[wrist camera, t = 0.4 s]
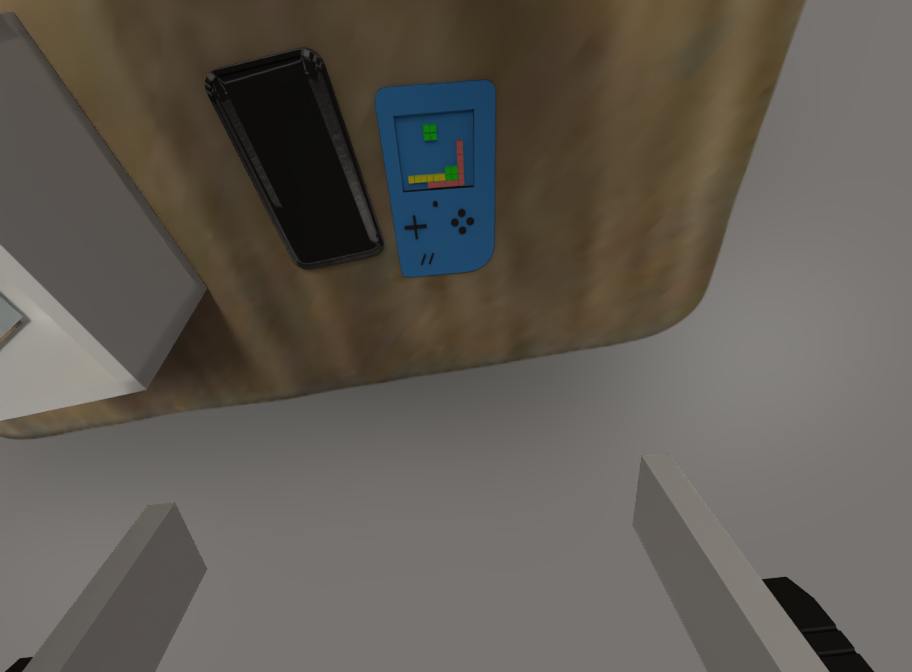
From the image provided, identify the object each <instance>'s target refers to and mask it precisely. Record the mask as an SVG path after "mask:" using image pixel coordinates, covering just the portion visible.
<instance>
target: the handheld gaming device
mask: <svg viewBox="0 0 912 672" xmlns="http://www.w3.org/2000/svg"><path fill="white" fill-rule="evenodd" d="M375 106H376V112H377V119H378V125H379V132H380V138H381V144H382V151H383V157H384V164H385V170H386V176H387V183H388V189H389V196H390V202H391V209H392V215H393V221H394V228H395V234H396V241H397V247H398V254H399V260H400V266H401V272H402V275H403V276H405V277H417V276H428V275H440V274H451V273H462V272H471V271H474V270H477V269H479V268H481V267H482V266H484V265H485V264H486V263H487V262H488V261H489V259H490V258H491V256H492V254H493V251H494V232H495V108H496V91H495V87H494V85H493V84H492V83H491V82H490V81H488V80H472V81H459V82H446V83H433V84H420V85H407V86H394V87H384V88H381V89H380V90H379V91H378V92H377V94H376V97H375Z"/></svg>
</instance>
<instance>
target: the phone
mask: <svg viewBox="0 0 912 672" xmlns="http://www.w3.org/2000/svg"><path fill="white" fill-rule="evenodd" d="M205 89H206V91H207V94H208V96H209V98H210V100H211V102H212V104H213V106H214V108H215V110H216V112H217V114H218V116H219V118H220V120H221V122H222V124H223V126H224V128H225V130H226V132H227V134H228V135H229V137H230V139H231V141H232V143H233V145H234V147H235V149H236V151H237V153H238V155H239V157H240V159H241V161H242V163H243V165H244V167H245V169H246V171H247V173H248V175H249V177H250V179H251V181H252V183H253V185H254V186H255V188H256V190H257V192H258V194H259V196H260V198H261V200H262V202H263V204H264V206H265V208H266V210H267V212H268V214H269V216H270V218H271V220H272V222H273V224H274V226H275V228H276V230H277V232H278V234H279V236H280V237H281V239H282V241H283V243H284V245H285V247H286V249H287V251H288V253H289V255H290V257H291V259H292V261H293V262H294V264H295V265H297V266H298V267H300V268H302V269H314V268H318V267H323V266H327V265H332V264H337V263H341V262H346V261H350V260H355V259H360V258H364V257H369V256H373V255H376V254H378V253H379V252H380V251H381V249H382V246H383V236H382V233H381V230H380V227H379V224H378V221H377V218H376V215H375V212H374V210H373V207H372V204H371V201H370V198H369V195H368V192H367V189H366V186H365V183H364V180H363V177H362V174H361V171H360V168H359V165H358V162H357V159H356V156H355V153H354V150H353V147H352V144H351V141H350V138H349V135H348V132H347V129H346V126H345V123H344V120H343V117H342V114H341V112H340V109H339V106H338V103H337V100H336V97H335V94H334V91H333V88H332V85H331V82H330V79H329V76H328V73H327V70H326V67H325V64H324V62H323V60H322V58H321V57H320V56H319V55H318V53H316V52H315V51H313V50H312V49H309V48H297V49H293V50H289V51H285V52H281V53H277V54H273V55H269V56H265V57H261V58H257V59H253V60H249V61H245V62H241V63H237V64H232V65H228V66H224V67H220V68H217V69H215V70H213V71H212V72H210V73H209V74H208V75H207V77H206V80H205Z"/></svg>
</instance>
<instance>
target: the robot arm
mask: <svg viewBox="0 0 912 672" xmlns="http://www.w3.org/2000/svg"><path fill="white" fill-rule="evenodd" d="M633 527H634V529H635V531H636V533H637V535H638V537H639V539H640V541H641V543H642V545H643V546H644V548H645V550H646V552H647V554H648V556H649V558H650V560H651V562H652V564H653V566H654V568H655V570H656V572H657V574H658V576H659V578H660V580H661V582H662V584H663V586H664V588H665V590H666V592H667V594H668V595H669V597H670V599H671V601H672V603H673V605H674V607H675V609H676V611H677V613H678V615H679V617H680V619H681V621H682V623H683V625H684V627H685V629H686V631H687V633H688V635H689V637H690V639H691V640H692V642H693V644H694V646H695V648H696V650H697V652H698V654H699V656H700V658H701V660H702V662H703V664H704V666H705V668H706V670H707V672H874V671H873V670H872V669H871V667H870V666H869V665H868V664H867V663H866V661H865V660H864V659H863V658H862V656H861V655H860V654H857V653H856V651H855V649H854V647H853V645H852V644H851V643H850V642H849V640H848V639H847V638H846V637H845V636H844V634H843V633H842V632H841V631H839V630H838V629H837V628H836V625H835V623H834V622H833V621H832V620H831V618H830V617H829V616H828V615H827V614H826V612H825V611H824V610H823V609H822V607H821V606H820V605H819V604H818V603H817V601H816V600H815V599H814V598H813V597H812V596H810V595H809V594H808V593H807V592H805V591H804V590H803V589H801V588H800V587H799V586H798V585H796V584H795V583H794V582H792V581H791V580H790V579H789V578H787V577H779V578H769V579H761V578H760V577H759V575H758V574H757V573H756V571H755V570H754V569H753V567H752V566H751V565H750V563H749V562H748V561H747V559H746V558H745V556H744V555H743V554H742V552H741V551H740V550H739V548H738V547H737V546H736V544H735V543H734V541H733V540H732V539H731V537H730V536H729V535H728V533H727V532H726V531H725V529H724V528H723V526H722V525H721V524H720V522H719V521H718V520H717V518H716V517H715V516H714V514H713V513H712V512H711V510H710V509H709V507H708V506H707V505H706V503H705V502H704V501H703V499H702V498H701V497H700V495H699V494H698V492H697V491H696V490H695V488H694V487H693V486H692V485H691V483H690V482H689V480H688V479H687V478H686V476H685V475H684V473H683V472H682V471H681V469H680V468H679V467H678V465H677V464H676V463H675V461H674V460H673V458H672V457H671V456H670V454H669V453H662V454H651V455H642V456H641V463H640V472H639V479H638V487H637V495H636V502H635V510H634V518H633ZM206 570H207V567H206V565H205V563H204V561H203V559H202V557H201V555H200V553H199V551H198V549H197V547H196V545H195V543H194V541H193V539H192V537H191V534H190V532H189V530H188V528H187V526H186V524H185V522H184V520H183V518H182V516H181V514H180V512H179V510H178V508H177V506H176V503H166V504H156V505H147V507H146V508H145V510H144V511H143V512H142V513H141V515H140V516H139V517H138V519H137V520H136V521H135V523H134V524H133V525H132V527H131V528H130V529H129V531H128V532H127V533H126V535H125V536H124V537H123V538H122V540H121V541H120V542H119V544H118V545H117V547H116V548H115V549H114V550H113V552H112V553H111V554H110V556H109V557H108V558H107V560H106V561H105V562H104V564H103V565H102V566H101V568H100V569H99V570H98V572H97V573H96V574H95V576H94V577H93V578H92V580H91V581H90V582H89V584H88V585H87V586H86V588H85V589H84V590H83V592H82V593H81V594H80V596H79V597H78V598H77V600H76V601H75V602H74V604H73V605H72V606H71V608H70V609H69V610H68V612H67V613H66V614H65V616H64V617H63V618H62V620H61V621H60V622H59V624H58V625H57V626H56V628H55V629H54V630H53V632H52V633H51V634H50V635H49V637H48V638H47V639H46V641H45V642H44V644H43V645H42V646H41V648H40V649H39V650H38V652H37V653H36V654H35V656H34V657H29V658H20V659H19V660H17V662H15V663H14V664H13V665H12V666H11V667H10V668H9V669H8V670H6V671H5V672H155V671H156V669H157V667H158V665H159V663H160V661H161V659H162V657H163V655H164V653H165V651H166V649H167V647H168V645H169V643H170V641H171V639H172V637H173V635H174V633H175V632H176V629H177V628H178V626H179V624H180V622H181V620H182V618H183V616H184V614H185V612H186V610H187V608H188V606H189V604H190V602H191V600H192V598H193V596H194V594H195V592H196V590H197V588H198V586H199V584H200V582H201V580H202V578H203V576H204V574H205V572H206Z"/></svg>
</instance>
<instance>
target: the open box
mask: <svg viewBox="0 0 912 672" xmlns="http://www.w3.org/2000/svg"><path fill="white" fill-rule="evenodd" d="M207 289H208V288H207V287H206V285H205V284H204V283H203V281H202V280H201V278H200V277H199V275H198V274H197V273H196V271H195V270H194V268H193V267H192V266H191V264H190V263H189V261H188V260H187V258H186V257H185V256H184V254H183V253H182V251H181V250H180V248H179V247H178V246H177V244H176V243H175V241H174V240H173V239H172V237H171V236H170V234H169V233H168V231H167V230H166V229H165V227H164V226H163V224H162V223H161V221H160V220H159V219H158V217H157V216H156V214H155V213H154V212H153V210H152V209H151V207H150V206H149V204H148V203H147V202H146V200H145V199H144V197H143V196H142V195H141V193H140V192H139V190H138V189H137V187H136V186H135V185H134V183H133V182H132V180H131V179H130V177H129V176H128V175H127V173H126V172H125V170H124V169H123V168H122V166H121V165H120V163H119V162H118V160H117V159H116V158H115V156H114V155H113V153H112V152H111V150H110V149H109V148H108V146H107V145H106V143H105V142H104V141H103V139H102V138H101V136H100V135H99V133H98V132H97V131H96V129H95V128H94V126H93V125H92V123H91V122H90V121H89V119H88V118H87V116H86V115H85V114H84V112H83V111H82V109H81V108H80V106H79V105H78V104H77V102H76V101H75V99H74V98H73V97H72V95H71V94H70V92H69V91H68V89H67V88H66V87H65V85H64V84H63V82H62V81H61V79H60V78H59V77H58V75H57V74H56V72H55V71H54V70H53V68H52V67H51V65H50V64H49V62H48V61H47V60H46V58H45V57H44V55H43V54H42V52H41V51H40V50H39V48H38V47H37V45H36V44H35V43H34V41H33V40H32V38H31V37H30V35H29V34H28V33H27V31H26V30H25V28H24V27H23V26H22V24H21V23H20V21H19V20H18V18H17V17H16V16H15V14H14V13H13V12H8V13H1V14H0V297H1V298H3V299H4V300H5V301H6V302H7V303H8V304H9V305H10V306H11V307H13V308H14V309H15V310H16V311H17V312H18V313H19V314H20V315H21V316H22V318H21V319H20V321H21V322H22V323H21V324H20V325H19V326H18V327H17V328H16V329H15V330H14V331H13V332H12V333H11V334H10V335H9V336H7V337H6V338H5V339H4V340H3V341H2V342H1V343H0V421H1V420H6V419H11V418H16V417H20V416H25V415H30V414H35V413H39V412H44V411H49V410H54V409H58V408H63V407H68V406H73V405H78V404H82V403H87V402H92V401H97V400H101V399H106V398H111V397H116V396H120V395H125V394H130V393H135V392H139V391H144V390H147V389H148V387H149V385H150V384H151V382H152V380H153V379H154V377H155V375H156V374H157V372H158V370H159V369H160V367H161V365H162V364H163V362H164V360H165V359H166V357H167V355H168V354H169V352H170V350H171V349H172V347H173V345H174V344H175V342H176V340H177V339H178V337H179V335H180V334H181V332H182V330H183V329H184V327H185V325H186V324H187V322H188V320H189V319H190V317H191V315H192V314H193V312H194V310H195V309H196V307H197V305H198V304H199V302H200V300H201V299H202V297H203V295H204V294H205V292H206V290H207Z"/></svg>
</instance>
